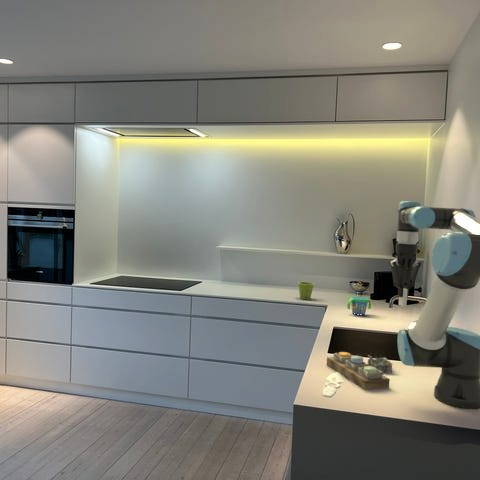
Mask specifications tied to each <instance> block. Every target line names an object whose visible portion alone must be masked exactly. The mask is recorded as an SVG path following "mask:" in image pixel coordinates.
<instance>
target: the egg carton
mask: <svg viewBox="0 0 480 480" xmlns="http://www.w3.org/2000/svg"><path fill="white" fill-rule="evenodd" d="M367 357H368V359H367V364H368V366H371V367H375V368H376V369H378V370H379V371H381V372H386V373H391V372H392V371H393V363H392V362H391V361H390V360H388V359H387V357H379V358H378V357H375V358H373V356H372V355H370V354H367Z"/></svg>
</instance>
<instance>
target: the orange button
mask: <svg viewBox="0 0 480 480" xmlns="http://www.w3.org/2000/svg"><path fill="white" fill-rule="evenodd" d="M338 353H339V356H340V357H342V358H343V357H350V354H351V353H350V352H346V351H339V352H338Z"/></svg>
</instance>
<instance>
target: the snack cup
mask: <svg viewBox="0 0 480 480" xmlns="http://www.w3.org/2000/svg"><path fill="white" fill-rule="evenodd" d="M346 307H347V309H348V310H350V309H351V313H352V314H353V313H355V314H365V315H366V312H367V309H368V310H371V309H372V303H371V301H370V299H369V298H368V297H362V296H351V297H350V299H349V300H348V302H347V305H346Z"/></svg>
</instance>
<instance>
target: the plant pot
mask: <svg viewBox="0 0 480 480" xmlns="http://www.w3.org/2000/svg"><path fill="white" fill-rule="evenodd" d="M297 284H298V290H299V292H298V294H299V298H300V300H308V301H309V300H311V297H312V293H313V290H314V285H315V283H313V282H309V281H298V282H297Z"/></svg>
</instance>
